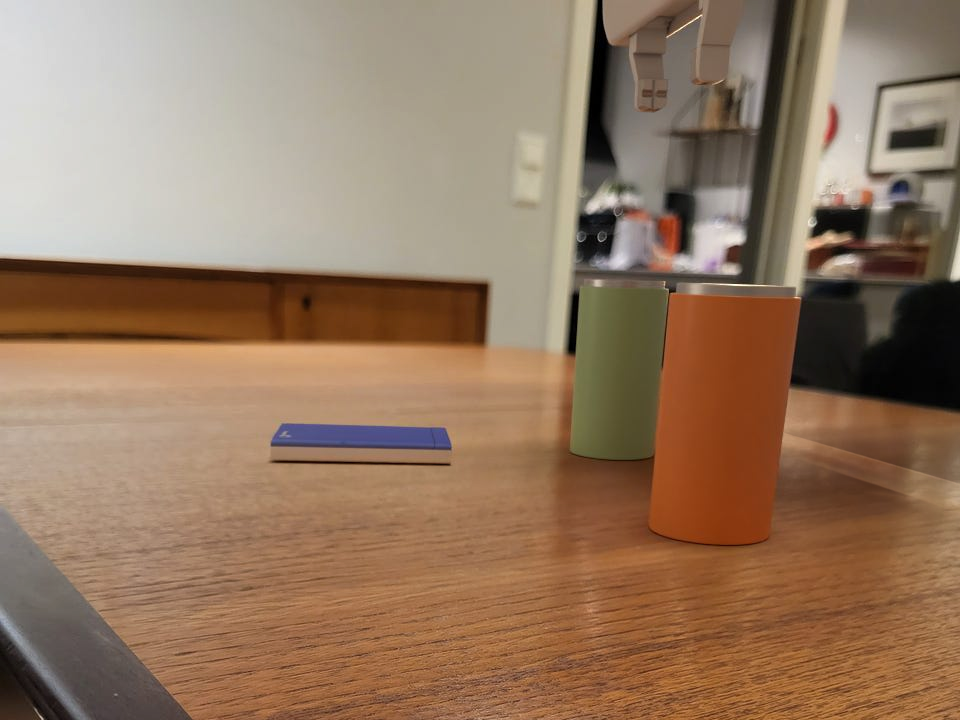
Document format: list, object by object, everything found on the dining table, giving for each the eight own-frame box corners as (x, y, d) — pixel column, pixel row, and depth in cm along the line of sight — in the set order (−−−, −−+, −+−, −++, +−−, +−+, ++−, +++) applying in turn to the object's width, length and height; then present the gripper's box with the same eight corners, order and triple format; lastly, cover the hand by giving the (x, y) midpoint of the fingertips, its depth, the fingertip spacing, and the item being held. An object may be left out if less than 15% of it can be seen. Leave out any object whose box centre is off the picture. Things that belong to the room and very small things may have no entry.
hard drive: (269, 439, 68) (451, 443, 69) (281, 421, 76) (445, 425, 77) (270, 462, 68) (451, 465, 70) (282, 442, 76) (444, 446, 77)
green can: (633, 445, 80) (647, 280, 76) (667, 459, 75) (684, 282, 70) (558, 446, 79) (568, 278, 74) (586, 461, 73) (599, 279, 69)
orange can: (732, 514, 58) (760, 285, 53) (792, 542, 52) (829, 287, 48) (630, 517, 56) (650, 281, 52) (679, 547, 50) (707, 283, 46)
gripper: (837, -256, 49) (806, 65, 53) (677, -103, 68) (665, 124, 72) (716, -269, 48) (695, 60, 52) (588, -110, 67) (581, 121, 71)
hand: (677, 98), depth 62 cm, fingers open, 8 cm apart
